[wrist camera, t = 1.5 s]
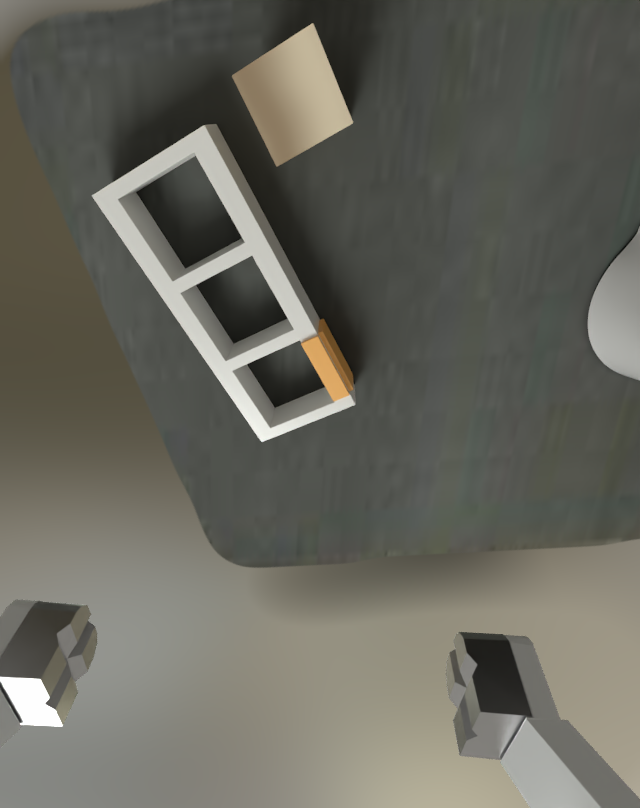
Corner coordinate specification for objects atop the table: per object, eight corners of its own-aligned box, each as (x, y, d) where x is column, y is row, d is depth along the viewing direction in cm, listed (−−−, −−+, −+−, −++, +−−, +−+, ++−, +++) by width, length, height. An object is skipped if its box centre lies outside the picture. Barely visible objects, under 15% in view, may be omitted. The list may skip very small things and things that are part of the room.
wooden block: (320, 47, 31) (313, 22, 23) (350, 120, 33) (353, 122, 25) (260, 85, 32) (231, 75, 24) (292, 153, 34) (276, 166, 26)
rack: (221, 120, 34) (208, 121, 30) (358, 383, 44) (359, 404, 41) (112, 188, 36) (89, 196, 33) (266, 421, 47) (261, 444, 44)
